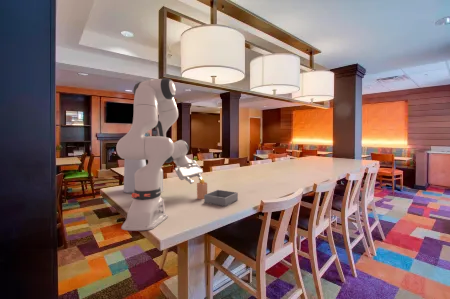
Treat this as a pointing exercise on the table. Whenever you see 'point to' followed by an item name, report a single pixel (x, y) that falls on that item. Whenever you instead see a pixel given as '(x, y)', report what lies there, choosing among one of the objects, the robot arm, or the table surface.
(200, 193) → the square container
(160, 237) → the table surface
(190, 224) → the table surface
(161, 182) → the milk carton
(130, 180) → the plastic bottle
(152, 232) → the table surface
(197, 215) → the table surface
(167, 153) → the robot arm
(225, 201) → the tray
